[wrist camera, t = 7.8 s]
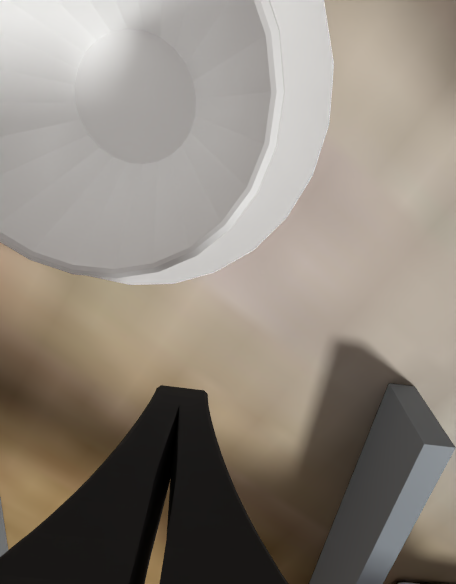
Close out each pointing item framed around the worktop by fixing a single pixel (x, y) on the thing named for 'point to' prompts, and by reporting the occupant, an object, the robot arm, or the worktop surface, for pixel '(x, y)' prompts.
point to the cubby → (379, 491)
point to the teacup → (157, 130)
